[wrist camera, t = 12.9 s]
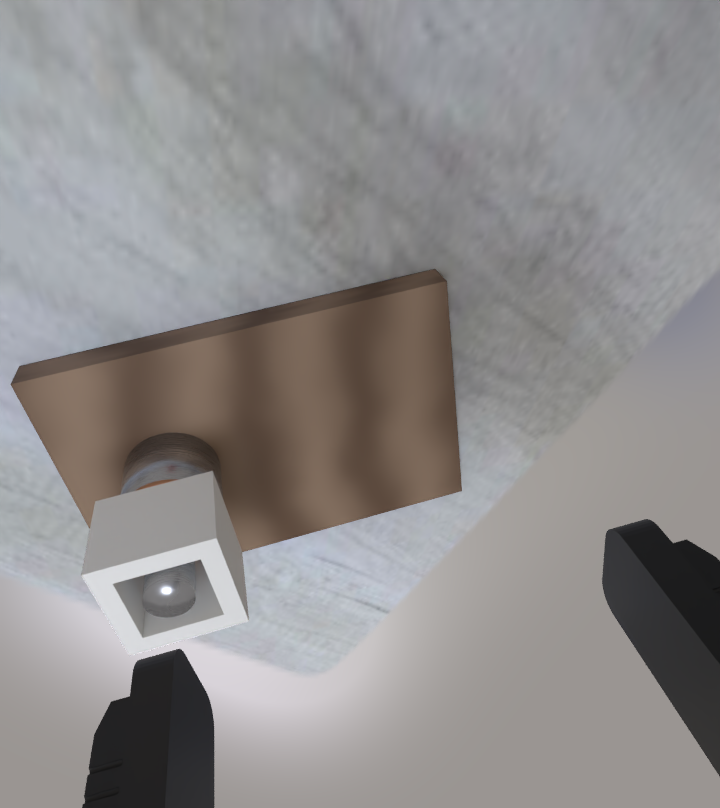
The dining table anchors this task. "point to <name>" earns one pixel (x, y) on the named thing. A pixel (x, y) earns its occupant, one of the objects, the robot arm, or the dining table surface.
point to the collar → (165, 560)
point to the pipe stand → (264, 415)
